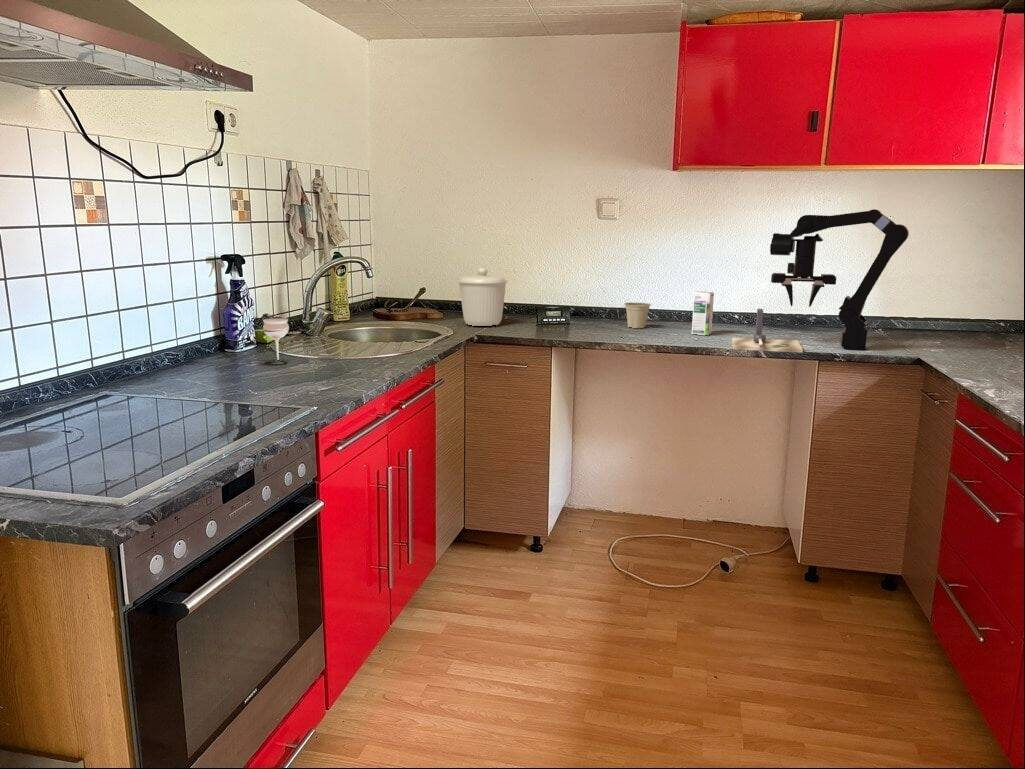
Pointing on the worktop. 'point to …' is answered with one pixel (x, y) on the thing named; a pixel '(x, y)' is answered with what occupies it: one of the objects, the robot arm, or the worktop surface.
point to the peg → (759, 328)
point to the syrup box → (702, 313)
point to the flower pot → (637, 314)
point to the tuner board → (767, 345)
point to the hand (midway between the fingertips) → (800, 306)
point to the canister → (482, 298)
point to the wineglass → (276, 330)
